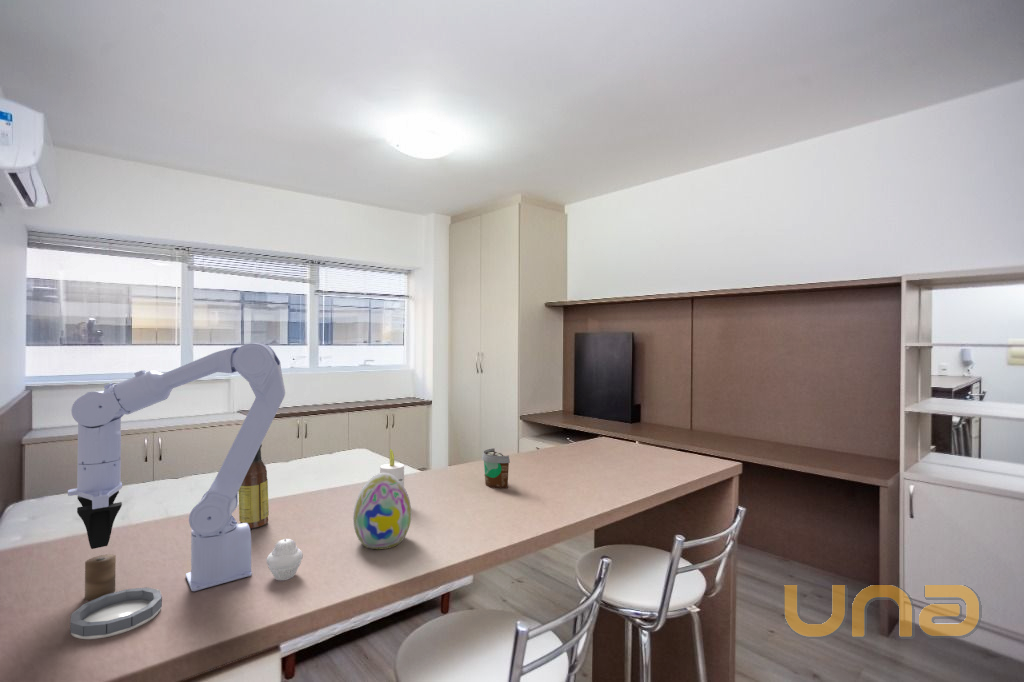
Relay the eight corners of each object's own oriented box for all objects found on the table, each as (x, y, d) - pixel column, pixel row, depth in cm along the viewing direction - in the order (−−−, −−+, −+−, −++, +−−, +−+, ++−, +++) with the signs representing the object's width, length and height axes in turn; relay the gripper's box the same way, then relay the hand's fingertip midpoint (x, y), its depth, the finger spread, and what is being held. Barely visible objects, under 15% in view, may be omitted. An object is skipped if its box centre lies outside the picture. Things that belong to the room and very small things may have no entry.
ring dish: (157, 592, 84) (157, 581, 84) (164, 620, 76) (164, 607, 76) (71, 616, 77) (71, 603, 77) (69, 649, 68) (69, 634, 68)
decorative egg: (351, 556, 99) (352, 483, 99) (354, 534, 110) (354, 468, 110) (413, 550, 102) (413, 478, 102) (409, 528, 114) (409, 464, 114)
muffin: (308, 568, 93) (308, 532, 93) (294, 584, 87) (295, 545, 87) (275, 569, 93) (275, 532, 93) (259, 585, 87) (260, 545, 87)
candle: (390, 510, 126) (390, 452, 126) (374, 505, 130) (375, 449, 130) (409, 504, 131) (409, 448, 131) (393, 499, 135) (394, 445, 135)
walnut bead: (114, 586, 86) (115, 551, 86) (115, 594, 83) (116, 559, 83) (84, 593, 84) (85, 558, 84) (84, 602, 81) (85, 566, 81)
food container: (475, 481, 153) (475, 449, 153) (493, 479, 156) (493, 447, 156) (490, 492, 142) (490, 457, 142) (509, 489, 145) (509, 455, 145)
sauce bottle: (261, 518, 120) (262, 438, 120) (273, 524, 116) (273, 441, 116) (233, 526, 115) (233, 442, 115) (244, 532, 111) (245, 445, 111)
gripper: (68, 456, 86) (68, 533, 86) (67, 473, 75) (66, 560, 75) (119, 451, 91) (119, 523, 91) (125, 465, 80) (124, 548, 80)
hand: (98, 539), depth 83 cm, fingers open, 7 cm apart
